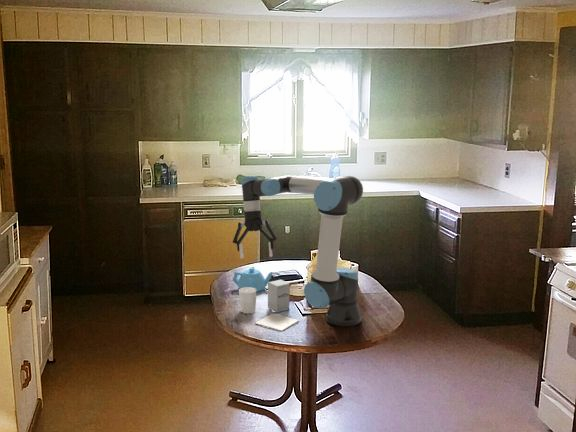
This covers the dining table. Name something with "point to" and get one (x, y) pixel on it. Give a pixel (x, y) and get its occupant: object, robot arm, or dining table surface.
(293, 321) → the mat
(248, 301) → the white cup
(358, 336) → the dining table surface
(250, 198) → the robot arm
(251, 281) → the teapot
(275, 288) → the supplement box
